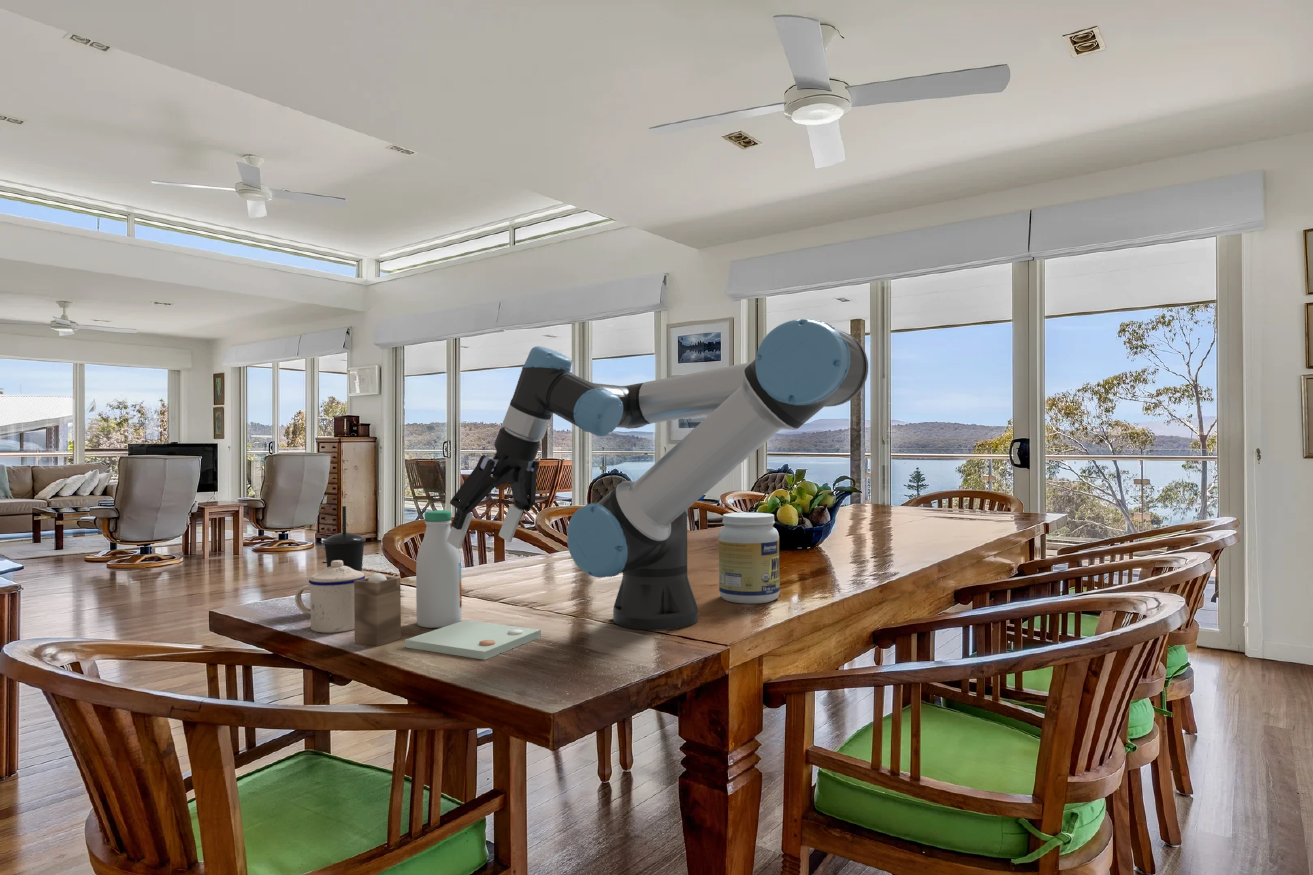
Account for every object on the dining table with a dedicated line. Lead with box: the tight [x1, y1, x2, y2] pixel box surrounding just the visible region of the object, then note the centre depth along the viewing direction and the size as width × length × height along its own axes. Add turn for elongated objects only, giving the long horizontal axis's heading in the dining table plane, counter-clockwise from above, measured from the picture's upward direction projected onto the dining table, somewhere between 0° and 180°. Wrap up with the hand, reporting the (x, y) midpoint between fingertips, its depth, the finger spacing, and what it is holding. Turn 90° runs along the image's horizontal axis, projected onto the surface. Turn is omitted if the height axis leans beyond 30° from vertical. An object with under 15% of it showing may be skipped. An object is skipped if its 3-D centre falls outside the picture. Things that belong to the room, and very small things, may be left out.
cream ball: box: [368, 572, 387, 582], centre depth 122 cm, size 3×3×3 cm
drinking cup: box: [322, 505, 366, 572], centre depth 146 cm, size 8×8×20 cm
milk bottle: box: [415, 509, 463, 629], centre depth 133 cm, size 8×8×20 cm
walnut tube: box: [354, 575, 402, 647], centre depth 122 cm, size 5×5×10 cm
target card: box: [404, 619, 542, 661], centre depth 121 cm, size 16×14×2 cm
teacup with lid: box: [294, 560, 366, 634], centre depth 132 cm, size 12×9×12 cm
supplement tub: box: [718, 512, 780, 604], centre depth 151 cm, size 12×12×17 cm
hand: (480, 541), depth 134 cm, fingers open, 13 cm apart
